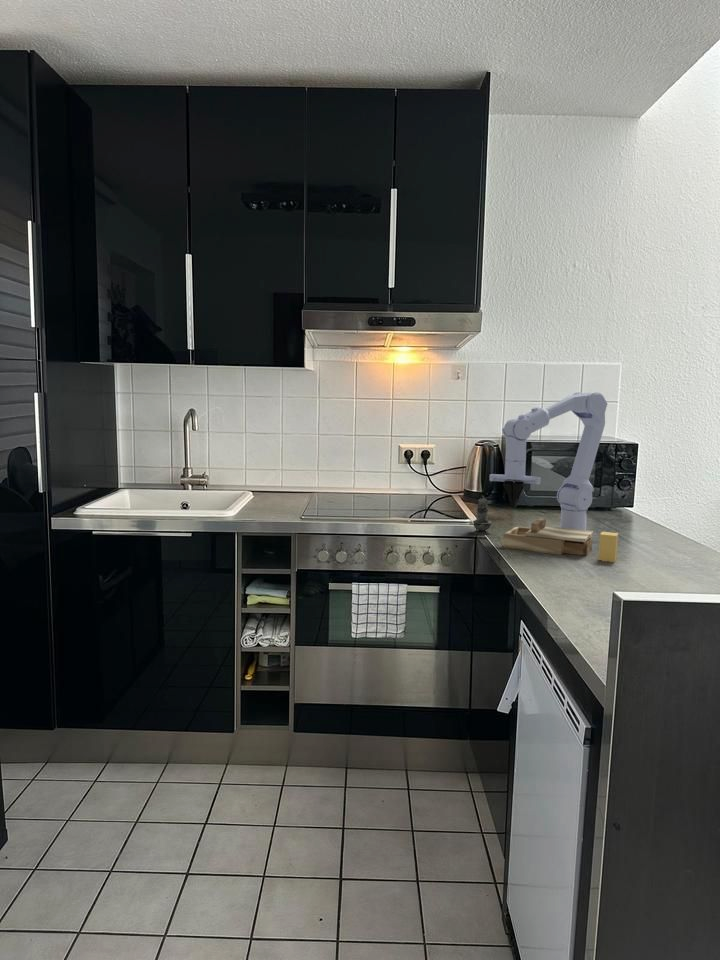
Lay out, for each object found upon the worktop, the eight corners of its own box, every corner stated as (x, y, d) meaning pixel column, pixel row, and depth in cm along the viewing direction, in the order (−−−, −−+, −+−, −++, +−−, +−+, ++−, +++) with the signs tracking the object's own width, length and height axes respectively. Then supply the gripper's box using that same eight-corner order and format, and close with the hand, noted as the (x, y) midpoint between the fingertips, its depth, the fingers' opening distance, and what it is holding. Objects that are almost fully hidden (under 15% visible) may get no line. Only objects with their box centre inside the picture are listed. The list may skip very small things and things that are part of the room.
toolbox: (515, 539, 196) (516, 526, 195) (593, 548, 185) (594, 534, 185) (503, 547, 185) (503, 533, 184) (584, 557, 174) (585, 543, 173)
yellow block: (600, 557, 175) (602, 531, 174) (616, 559, 173) (618, 533, 172) (598, 560, 171) (599, 534, 170) (614, 562, 169) (616, 535, 168)
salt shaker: (478, 530, 209) (479, 493, 208) (494, 532, 205) (495, 495, 204) (468, 533, 205) (469, 495, 203) (485, 535, 201) (486, 497, 200)
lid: (536, 527, 192) (537, 516, 192) (593, 533, 185) (594, 522, 184) (525, 535, 181) (525, 523, 181) (585, 542, 173) (585, 530, 173)
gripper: (486, 460, 189) (485, 506, 191) (537, 463, 182) (534, 511, 184) (494, 458, 196) (492, 503, 197) (543, 461, 189) (541, 507, 190)
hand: (513, 507), depth 191 cm, fingers closed
